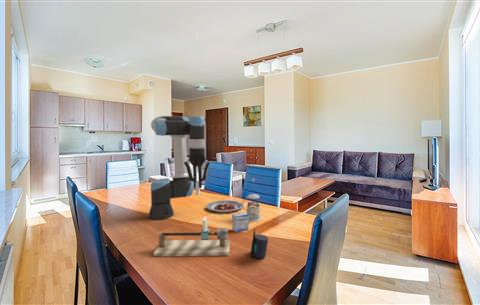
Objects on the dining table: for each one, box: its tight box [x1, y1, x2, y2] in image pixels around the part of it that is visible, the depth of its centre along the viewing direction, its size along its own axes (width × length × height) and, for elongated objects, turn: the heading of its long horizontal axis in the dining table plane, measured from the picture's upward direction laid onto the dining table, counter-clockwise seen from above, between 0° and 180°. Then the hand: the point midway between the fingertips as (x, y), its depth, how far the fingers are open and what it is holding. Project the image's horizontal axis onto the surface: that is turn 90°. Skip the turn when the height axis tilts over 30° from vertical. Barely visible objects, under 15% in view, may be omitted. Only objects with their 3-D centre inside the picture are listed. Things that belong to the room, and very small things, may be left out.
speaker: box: [250, 228, 269, 260], centre depth 101 cm, size 8×6×10 cm
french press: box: [241, 178, 262, 222], centre depth 146 cm, size 10×12×25 cm
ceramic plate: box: [206, 199, 244, 213], centre depth 169 cm, size 26×26×3 cm
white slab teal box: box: [200, 216, 210, 240], centre depth 107 cm, size 3×4×9 cm
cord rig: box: [153, 227, 231, 257], centre depth 108 cm, size 32×12×9 cm, turn 90°
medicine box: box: [231, 212, 250, 233], centre depth 129 cm, size 8×4×9 cm, turn 117°
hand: (197, 194), depth 120 cm, fingers closed
